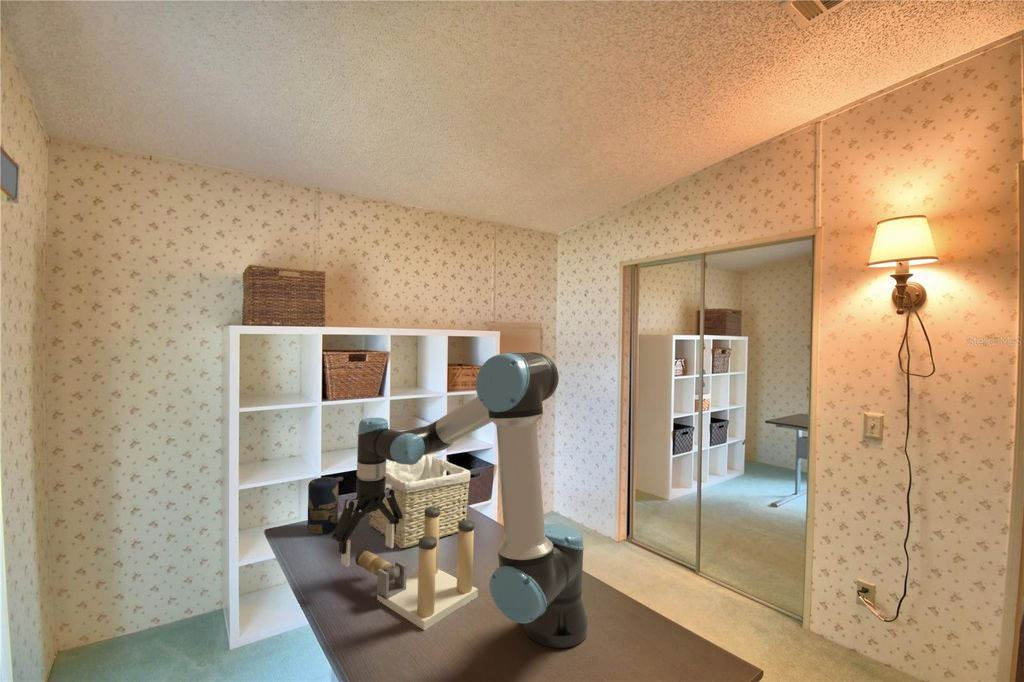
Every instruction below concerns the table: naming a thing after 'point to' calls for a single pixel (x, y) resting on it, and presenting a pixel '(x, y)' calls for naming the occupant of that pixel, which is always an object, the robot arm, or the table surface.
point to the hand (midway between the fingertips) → (368, 555)
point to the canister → (322, 505)
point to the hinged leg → (376, 564)
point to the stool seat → (431, 578)
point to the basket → (424, 498)
